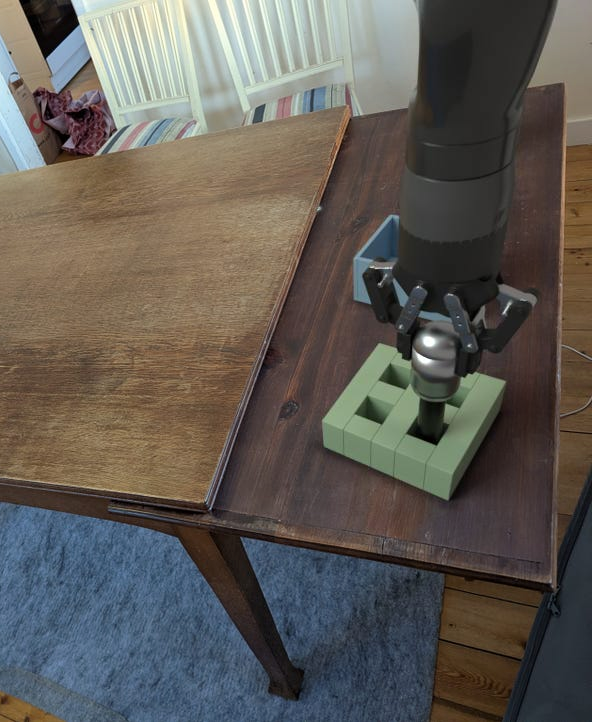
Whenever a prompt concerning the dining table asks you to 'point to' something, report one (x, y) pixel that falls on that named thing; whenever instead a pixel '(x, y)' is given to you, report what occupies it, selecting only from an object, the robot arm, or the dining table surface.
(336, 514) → the dining table surface
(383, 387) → the rack
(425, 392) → the microphone
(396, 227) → the tub
